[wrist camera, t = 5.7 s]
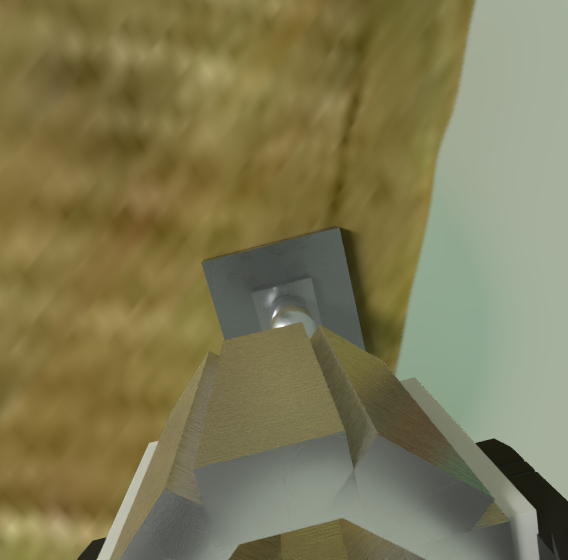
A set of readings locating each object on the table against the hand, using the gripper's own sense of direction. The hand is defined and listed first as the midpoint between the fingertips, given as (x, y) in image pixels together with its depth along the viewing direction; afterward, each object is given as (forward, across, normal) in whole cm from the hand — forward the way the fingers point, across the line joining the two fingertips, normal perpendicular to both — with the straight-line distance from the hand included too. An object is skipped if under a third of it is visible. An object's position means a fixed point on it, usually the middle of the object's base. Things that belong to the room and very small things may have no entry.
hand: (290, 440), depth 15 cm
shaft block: (+20, +1, 0) cm, 20 cm away
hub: (0, 0, 0) cm, 0 cm away
